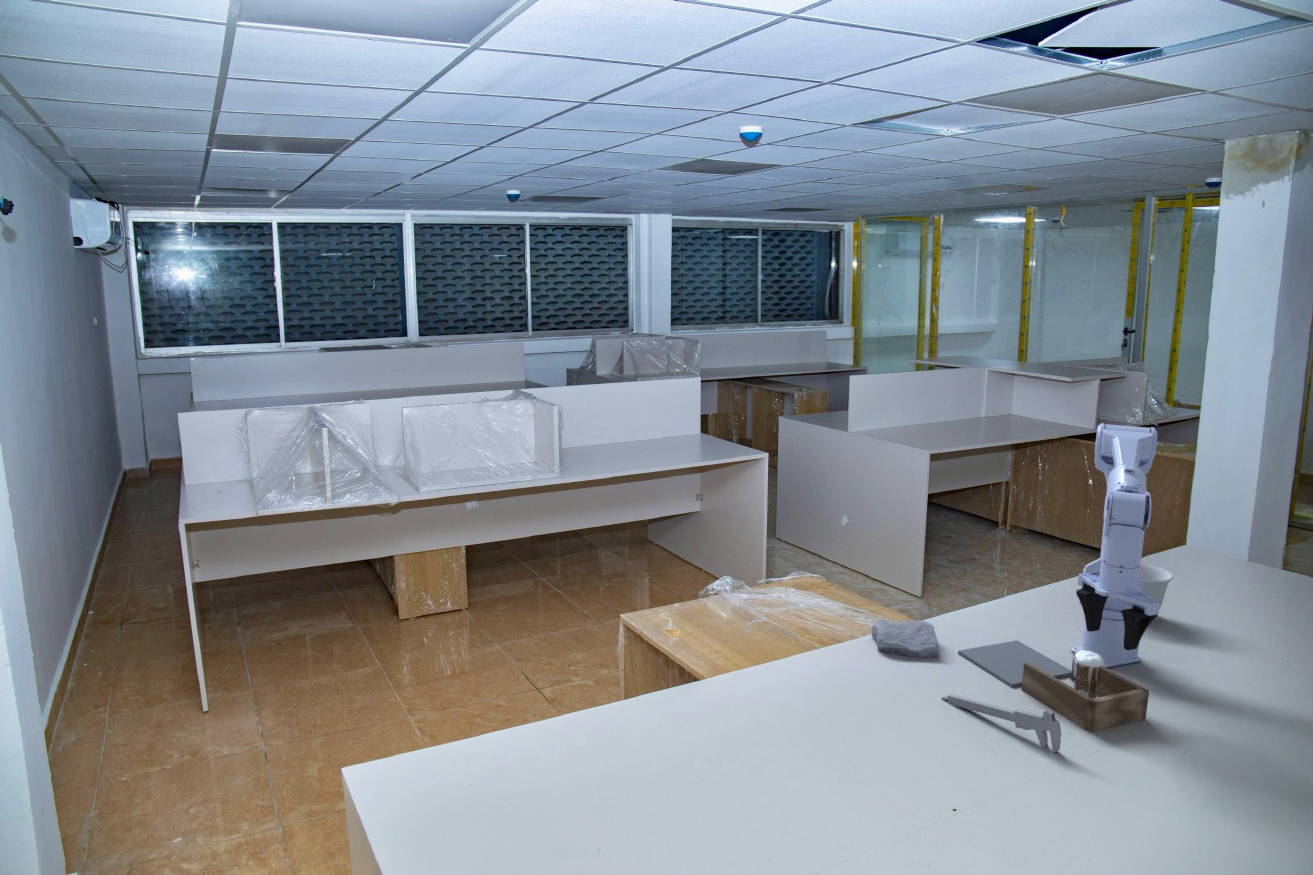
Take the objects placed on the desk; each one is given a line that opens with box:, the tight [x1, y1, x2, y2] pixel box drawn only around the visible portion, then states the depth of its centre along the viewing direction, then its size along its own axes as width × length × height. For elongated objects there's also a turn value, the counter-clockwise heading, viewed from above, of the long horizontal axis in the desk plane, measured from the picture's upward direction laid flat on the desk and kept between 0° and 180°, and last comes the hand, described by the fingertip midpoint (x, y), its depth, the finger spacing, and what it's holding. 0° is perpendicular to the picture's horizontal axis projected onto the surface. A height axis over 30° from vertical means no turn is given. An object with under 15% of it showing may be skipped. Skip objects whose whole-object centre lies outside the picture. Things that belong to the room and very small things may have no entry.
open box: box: [1020, 653, 1150, 733], centre depth 143 cm, size 12×14×5 cm
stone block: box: [871, 619, 940, 659], centre depth 165 cm, size 12×5×10 cm
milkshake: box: [1071, 649, 1104, 699], centre depth 143 cm, size 4×5×10 cm
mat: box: [957, 640, 1072, 688], centre depth 158 cm, size 14×14×1 cm
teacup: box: [1095, 562, 1174, 610], centre depth 181 cm, size 12×15×10 cm
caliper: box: [941, 693, 1062, 753], centre depth 137 cm, size 20×1×6 cm, turn 36°
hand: (1111, 639), depth 144 cm, fingers open, 7 cm apart
